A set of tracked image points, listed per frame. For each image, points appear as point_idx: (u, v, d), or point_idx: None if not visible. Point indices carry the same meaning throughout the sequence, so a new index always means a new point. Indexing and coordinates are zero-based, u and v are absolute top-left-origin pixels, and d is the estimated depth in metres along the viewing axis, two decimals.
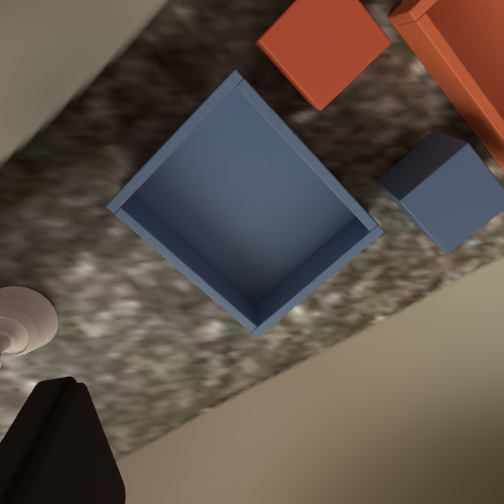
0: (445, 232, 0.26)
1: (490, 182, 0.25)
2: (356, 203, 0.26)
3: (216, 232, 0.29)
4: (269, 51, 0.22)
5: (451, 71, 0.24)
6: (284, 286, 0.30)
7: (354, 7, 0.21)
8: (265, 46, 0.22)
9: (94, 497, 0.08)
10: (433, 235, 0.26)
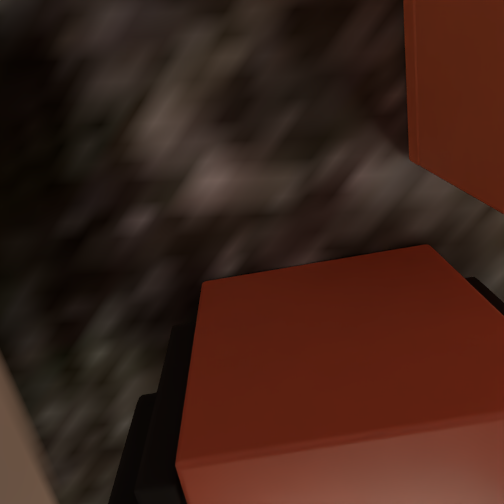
0: None
1: None
2: None
3: None
4: None
5: None
6: None
7: (369, 461, 0.05)
8: None
9: None
10: None
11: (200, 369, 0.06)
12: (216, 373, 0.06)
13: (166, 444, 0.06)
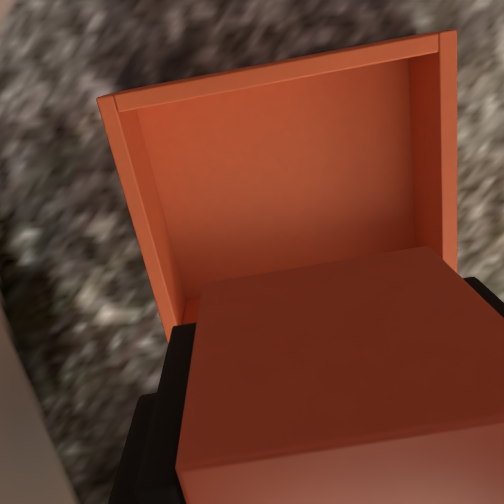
0: None
1: None
2: None
3: None
4: None
5: None
6: None
7: (369, 464, 0.05)
8: None
9: None
10: None
11: (200, 371, 0.06)
12: (216, 375, 0.06)
13: (166, 444, 0.06)
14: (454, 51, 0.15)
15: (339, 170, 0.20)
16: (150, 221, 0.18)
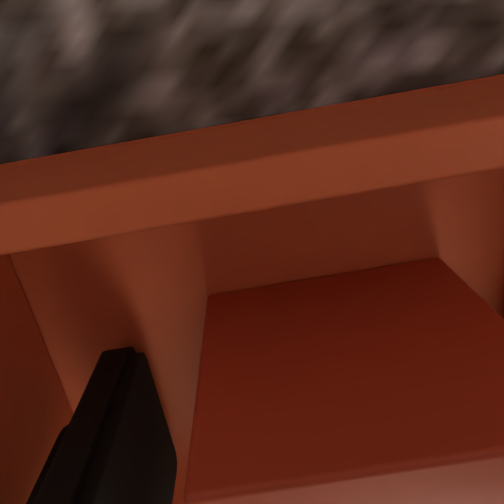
0: None
1: None
2: None
3: None
4: None
5: None
6: None
7: (387, 495, 0.05)
8: None
9: (156, 458, 0.08)
10: None
11: (208, 392, 0.06)
12: (224, 396, 0.06)
13: (60, 490, 0.06)
14: None
15: None
16: (9, 499, 0.07)
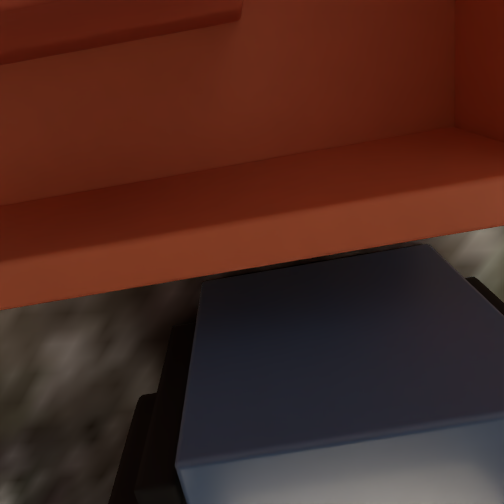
0: None
1: (417, 454, 0.05)
2: None
3: None
4: None
5: None
6: None
7: None
8: None
9: None
10: None
11: None
12: None
13: (166, 444, 0.06)
14: None
15: None
16: None
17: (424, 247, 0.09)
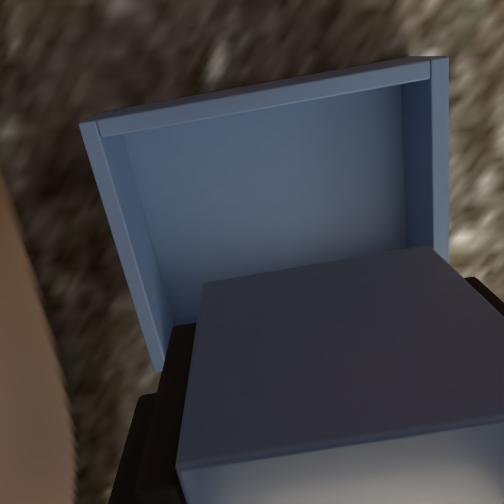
0: None
1: (418, 456, 0.05)
2: (372, 73, 0.15)
3: (284, 267, 0.21)
4: None
5: None
6: (414, 238, 0.19)
7: None
8: None
9: None
10: None
11: None
12: None
13: (166, 444, 0.06)
14: None
15: None
16: None
17: (424, 248, 0.09)
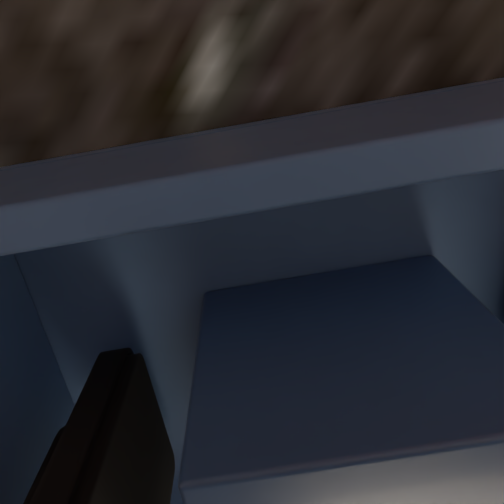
0: None
1: (425, 476, 0.05)
2: None
3: None
4: None
5: None
6: None
7: None
8: None
9: (153, 459, 0.08)
10: None
11: None
12: None
13: (56, 492, 0.06)
14: None
15: None
16: None
17: (429, 258, 0.09)
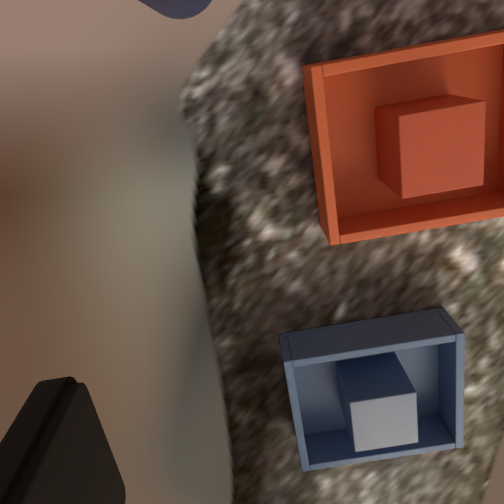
0: (400, 437, 0.32)
1: (388, 400, 0.31)
2: (427, 340, 0.31)
3: None
4: (414, 196, 0.25)
5: (391, 234, 0.28)
6: (443, 397, 0.35)
7: (439, 115, 0.24)
8: (409, 196, 0.25)
9: (94, 497, 0.08)
10: (396, 444, 0.32)
11: (392, 111, 0.25)
12: (396, 111, 0.25)
13: None
14: None
15: None
16: None
17: (393, 354, 0.34)
